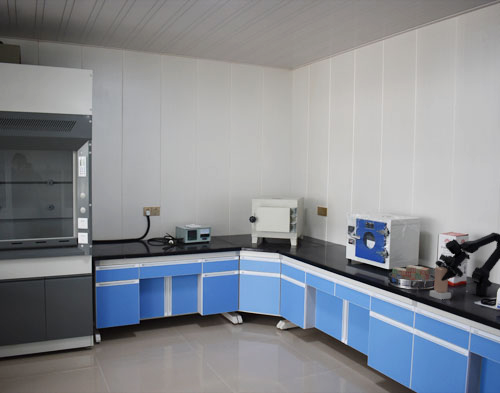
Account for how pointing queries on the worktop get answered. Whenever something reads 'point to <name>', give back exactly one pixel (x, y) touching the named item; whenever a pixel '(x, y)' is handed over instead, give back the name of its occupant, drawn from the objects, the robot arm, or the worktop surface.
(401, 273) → the stack of blocks
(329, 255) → the worktop surface
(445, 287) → the terracotta block
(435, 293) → the plinth block
